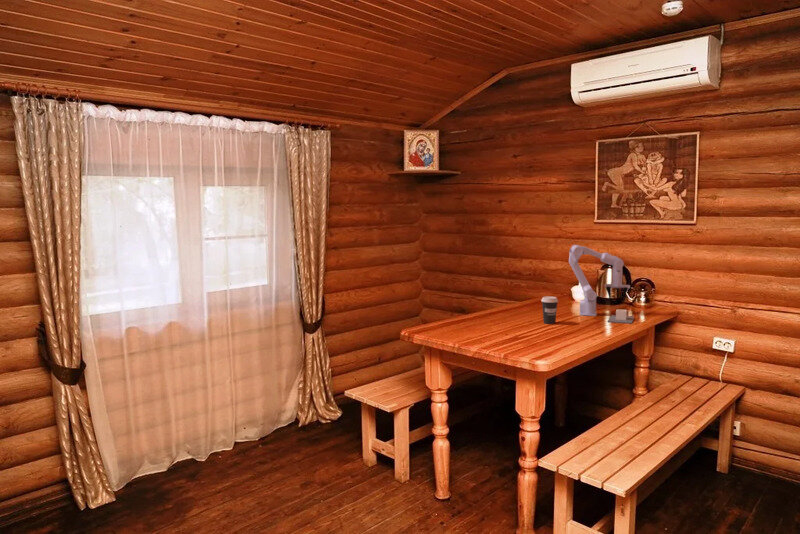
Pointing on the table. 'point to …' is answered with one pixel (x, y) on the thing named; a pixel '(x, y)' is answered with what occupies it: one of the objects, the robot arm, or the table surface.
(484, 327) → the table surface
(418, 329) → the table surface
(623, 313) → the collar
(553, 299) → the coffee cup
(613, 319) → the duct board
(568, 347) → the table surface
